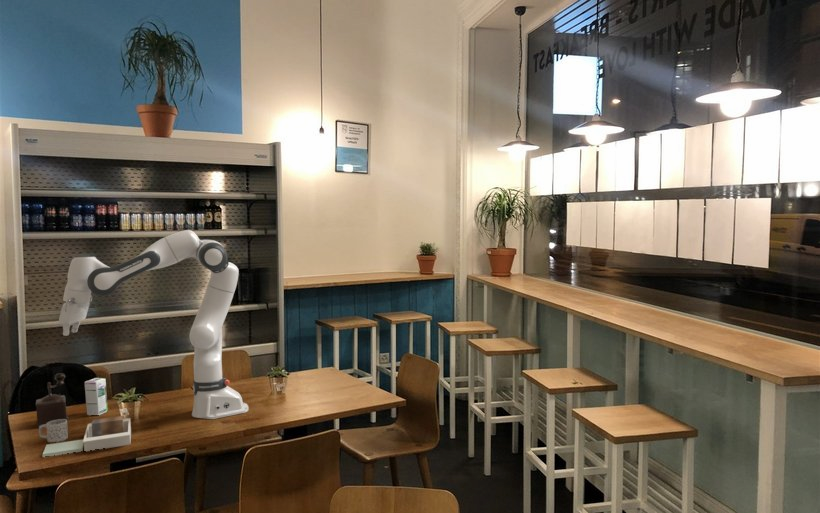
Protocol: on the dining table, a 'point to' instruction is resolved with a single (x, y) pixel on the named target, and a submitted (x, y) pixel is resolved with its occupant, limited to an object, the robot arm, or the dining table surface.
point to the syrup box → (96, 396)
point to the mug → (55, 430)
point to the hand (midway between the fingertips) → (69, 333)
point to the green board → (63, 448)
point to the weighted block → (107, 426)
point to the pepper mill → (52, 404)
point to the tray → (107, 438)
